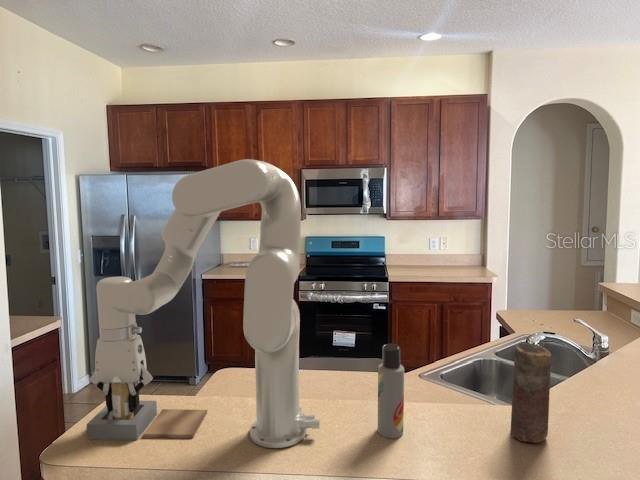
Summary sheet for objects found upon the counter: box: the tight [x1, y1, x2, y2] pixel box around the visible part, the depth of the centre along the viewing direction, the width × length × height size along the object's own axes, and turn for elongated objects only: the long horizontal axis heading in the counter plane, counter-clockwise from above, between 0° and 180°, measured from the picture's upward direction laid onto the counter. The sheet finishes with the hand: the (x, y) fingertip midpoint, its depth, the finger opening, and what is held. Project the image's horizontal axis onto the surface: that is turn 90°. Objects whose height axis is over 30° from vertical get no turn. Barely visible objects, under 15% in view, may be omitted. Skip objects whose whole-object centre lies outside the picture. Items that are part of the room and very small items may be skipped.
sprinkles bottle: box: [111, 377, 134, 420], centre depth 103 cm, size 5×5×13 cm
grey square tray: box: [86, 400, 158, 441], centre depth 103 cm, size 11×11×4 cm
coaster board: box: [142, 408, 208, 439], centre depth 104 cm, size 11×11×1 cm
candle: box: [510, 342, 552, 443], centre depth 97 cm, size 8×7×20 cm
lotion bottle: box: [377, 343, 405, 439], centre depth 99 cm, size 6×6×20 cm
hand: (123, 408), depth 103 cm, fingers closed on sprinkles bottle, 4 cm apart
